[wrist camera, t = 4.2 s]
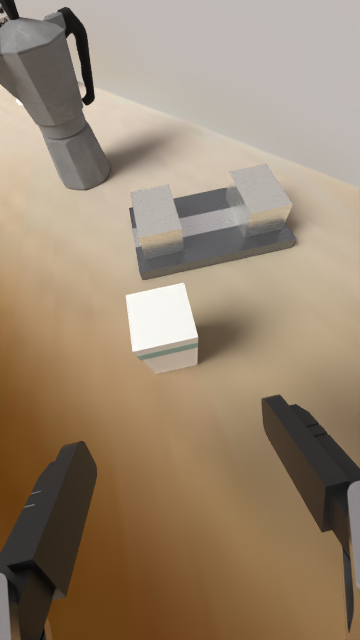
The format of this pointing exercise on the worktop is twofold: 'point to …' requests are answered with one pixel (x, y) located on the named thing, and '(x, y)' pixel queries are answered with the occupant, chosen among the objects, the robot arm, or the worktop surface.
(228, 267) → the worktop surface
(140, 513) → the worktop surface
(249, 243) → the rail panel
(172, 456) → the worktop surface
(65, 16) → the coffeepot
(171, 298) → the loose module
